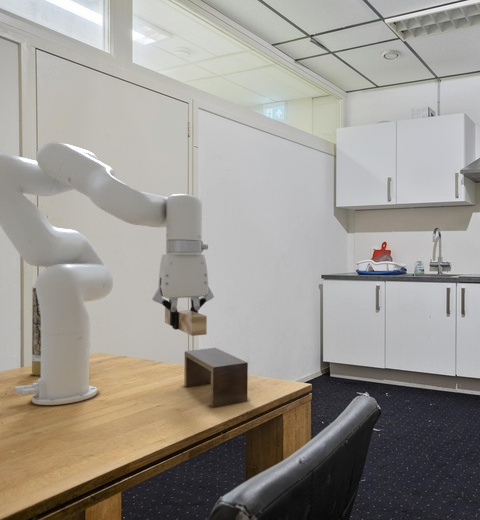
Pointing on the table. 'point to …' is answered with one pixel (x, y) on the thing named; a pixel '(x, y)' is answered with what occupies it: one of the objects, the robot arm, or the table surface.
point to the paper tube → (36, 335)
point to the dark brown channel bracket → (217, 375)
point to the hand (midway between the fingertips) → (184, 327)
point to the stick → (189, 321)
